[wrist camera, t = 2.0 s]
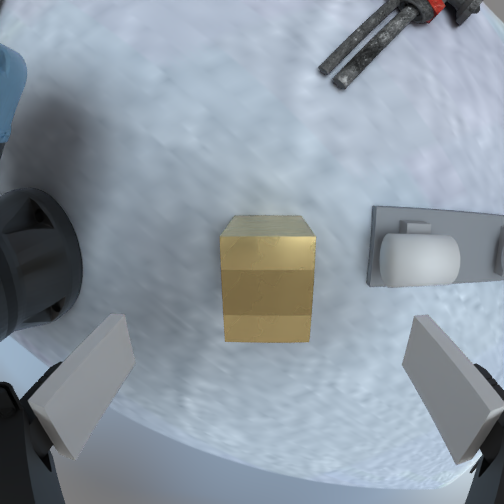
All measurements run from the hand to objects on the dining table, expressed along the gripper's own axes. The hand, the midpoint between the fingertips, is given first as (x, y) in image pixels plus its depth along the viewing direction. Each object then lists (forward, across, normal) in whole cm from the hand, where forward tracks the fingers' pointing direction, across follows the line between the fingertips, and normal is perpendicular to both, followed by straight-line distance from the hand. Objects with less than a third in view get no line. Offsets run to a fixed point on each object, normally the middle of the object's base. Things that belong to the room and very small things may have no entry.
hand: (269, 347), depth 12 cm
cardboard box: (+14, 0, 0) cm, 14 cm away
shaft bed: (+14, +19, +1) cm, 23 cm away
